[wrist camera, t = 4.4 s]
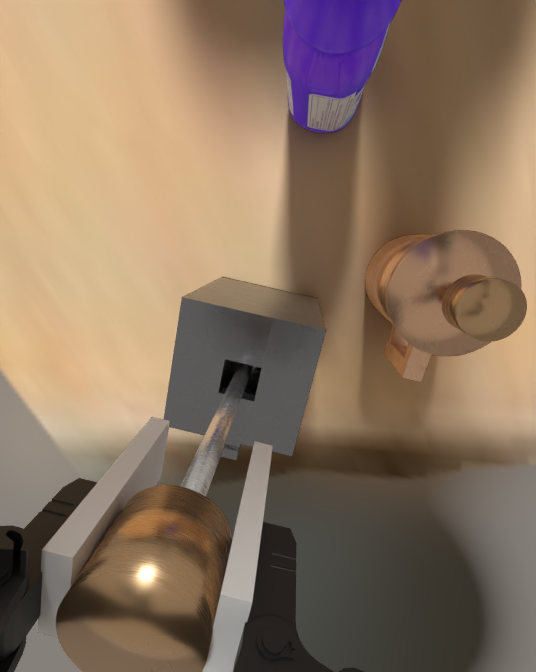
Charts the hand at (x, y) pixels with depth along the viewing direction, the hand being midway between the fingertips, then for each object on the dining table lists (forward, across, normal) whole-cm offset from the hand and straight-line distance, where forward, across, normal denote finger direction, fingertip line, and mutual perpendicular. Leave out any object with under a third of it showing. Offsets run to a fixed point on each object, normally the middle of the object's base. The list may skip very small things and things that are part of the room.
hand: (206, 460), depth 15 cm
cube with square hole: (+21, 0, -2) cm, 21 cm away
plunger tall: (+12, 0, 0) cm, 12 cm away
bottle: (+21, +1, +21) cm, 30 cm away
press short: (+21, +12, +7) cm, 25 cm away
